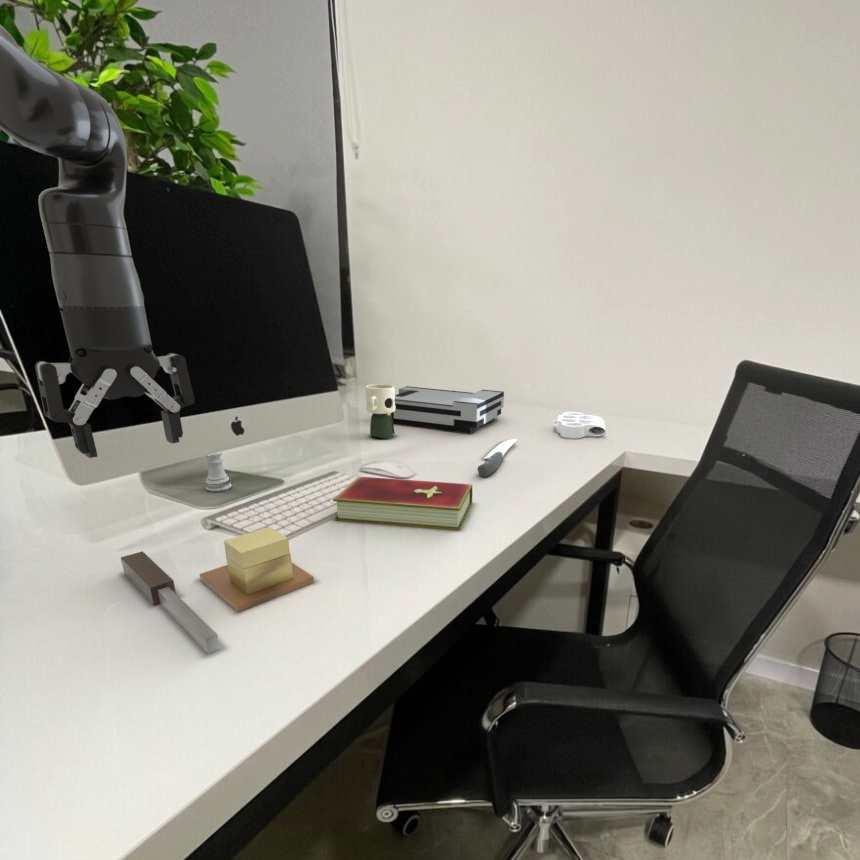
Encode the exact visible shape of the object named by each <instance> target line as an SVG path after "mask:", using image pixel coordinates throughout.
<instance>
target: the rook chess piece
mask: <svg viewBox="0 0 860 860" xmlns="http://www.w3.org/2000/svg"><path fill="white" fill-rule="evenodd" d="M223 454H224V451H223V452H220V453H214V454H211V455H209V456H205V457H206V462H205V463H207V470H208V471H207V476H206V479H205V482H206V483H208V484H220V483H223V482H226V481H228V480H229V478H230V477H229V476H228V474H227V473H226V471H225V468H224V465H223V461H224V459H223V458H222V455H223ZM232 486H233V484H232V483H231V482H230V483H229V484H227V485H224V486H219V487H210V486H207V485H206V486H205V490H206V491H207V492H210V493H222V492H226V491H228V490H230V489H231V488H232Z"/></svg>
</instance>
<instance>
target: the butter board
mask: <svg viewBox="0 0 860 860" xmlns="http://www.w3.org/2000/svg"><path fill="white" fill-rule="evenodd" d="M291 556H292V555H291V553H290V554H287V555H284V556H281V557H278V558H275V559H272V560H269V561H266V562H263V563H260V564H257V565H254V566H252V567H249V568H246V569H243V568H241V567H240V566H239V565H237V564H236V563H235V562H233V561H232V560H231V559H229V558H228V557H227V556H226V555H225V557H226V565H223V566H220V567H217V568H214V569H210V570H208V571H207V570H206V571H204V572H201V573H199V579H200V581H201V582H202V583H203V584H204V585H206V586H207V588H209V589H210V590H211V591H212V592H213V593H215V594H216V595H217V596H218V597H219V598H220V599H221V600H222V601H224V602H225V603H226V604H227V605H228V606H229V607H231V608H232V609H233V610H234V611H236V613H242V612H244V611H247V610H249V609H252V608H254V607H257V606H260V605H262V604H264V603H267V602H269V601H272V600H274V599H277V598H279V597H282V596H284V595H287V594H289V593H292V592H296V591H298V590H300V589H302V588H304V587H307V586H310V585H313V584H315V580H314V579H315V578H314V576H313V575H311V574H310V573H308V571H307V572H306V571H305V570H304V569H303V568H301V567H299V566H297V565H296V564H295V563H293V562H292V557H291Z"/></svg>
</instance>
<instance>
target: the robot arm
mask: <svg viewBox="0 0 860 860" xmlns="http://www.w3.org/2000/svg"><path fill="white" fill-rule="evenodd" d="M0 130H2V131H3V132H5V134H6V135H8V136H9V137H10V138H12V139H14V140H15V141H17V142H18V143H20V144H21V145H23V146H25V147H26V148H29V149H31V150H32V151H34V152H36V153H39V154H42V155H45V156H49V157H52V158H56V159H58V186H55V187H50V188H46V189H44V190H42V191H41V192H40V194H39V195H38V210H39V216H40V220H41V223H42V228H43V232H44V237H45V240H46V245H47V250H48V253H49V258H50V267H51V268H50V269H51V278H52V282H53V288H54V292H55V296H56V300H57V303H58V307H59V312H60V316H61V320H62V323H63V328H64V333H65V336H66V340H67V344H68V349H69V353H70V355H69V360H68V361H67V362H47V361H44V360H40V361H37V362H36V363H35V365H34V369H35V373H36V380H37V385H38V389H39V394H40V399H41V404H42V410H43V414H44V416H45V417H47V418H48V419H50V420H51V421H52V422H55V423H65V424H68V425H69V426H70V430H71V435H72V438H73V442H74V446H75V448H76V450H77V451H78V452H79V453H81V454H82V455H84V456H85V457H87V458H89V459H93V458H98V452H97V451H98V450H97V447H96V443H95V439H94V434H93V430H92V427H91V424H89V423H87V421H88V420H89V419H90V416H91V415H92V413H93V411H94V410H95V409H96V408H98V406H99V405H100V404H101V402H102V400H103V399H105V400H106V399H107V400H109V401H111V400H119V399H121V398H125V397H130V398H138V397H142V395H144V394H145V395H146V396H148V397H149V398H150V399H152V400H153V401H154V402H155V403H156V404H157V405H158V406H160V407H161V408H162V410H160V414H161V420H162V425H163V430H164V436H165V439H166V442H168V443H170V444H178V443H180V438H182V437H183V435H184V431H183V425H182V419H181V414H180V413H181V410H182V409H183V408H185V407H187V406H192V405H194V404H195V395H194V392H193V387H192V384H191V378H190V374H189V370H188V365H187V361H186V358H185V356H183V355H182V354H178V353H175V352H169V353H167V354H166V355H161V356H160V355H159V356H156V354H155V353H154V350H153V346H152V345H153V344H152V338H151V334H150V329H149V324H148V319H147V312H146V307H145V302H144V301H145V296H144V293H143V291H142V286H141V281H140V278H139V274H138V272H137V269H136V266H135V263H134V258H133V256H132V255H133V254H132V250H131V244H130V239H129V234H128V230H127V225H126V220H125V212H124V211H125V202H126V195H127V194H126V193H127V192H126V191H127V171H128V170H127V169H128V153H127V144H126V138H125V134H124V130H123V129H122V125H121V123H120V120H119V118H118V116H117V114H116V112H115V110H114V109H113V107H112V106H111V105H110V104H109V102H108V101H107V100H106V99H105V98H104V97H103V96H101V94H99V93H98V92H96V91H95V90H93V89H91V88H90V87H88V86H85V85H83V84H81V83H79V82H77V81H74V80H73V79H71V78H69V77H66V76H64V75H62V74H60V73H58V72H56V71H54V70H51V69H50V68H48V67H47V66H45V65H44V64H42V63H40V62H39V61H38V60H37V59H34V58H33V57H32V56H30V55H29V54H28V53H26V52H25V51H23V50H22V49H21V48H20V46H19V45H18V43H17V41H16V39H15V38H14V37H13V36H12V35H11V33H9V31H8V30H7V29H6V28H5V27H4V26H2V24H0ZM160 367H162V369H163V370H164V372H165V373H166V374H169V376H170V381H171V384H172V388H173V392H174V396H172V397H171V396H170V395H169V394H168V392H167V391H166V390H165V389H164V388H162V387H161V386H160V385H159V384H158V383H157V382H156V381H155V380H154V379H155V377H156V375H157V373H158V371H159V370H160ZM68 374H71V375H73V377H75V378H76V379H77V380H78V381H80V383H82V384H81V386H80V387H79V389H78V391H77V392H76V394H75V396H74V400H73V402H72V404H71V406H70V407H69V408H68V409H64V404H63V398H62V393H61V389H60V388H61V387H60V385H62V384H64V383H65V382H66V380H67V375H68Z"/></svg>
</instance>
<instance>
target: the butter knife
mask: <svg viewBox="0 0 860 860" xmlns="http://www.w3.org/2000/svg"><path fill="white" fill-rule="evenodd" d="M120 562H121V565H122V569H123V573H124V575H125V576H126V578H127V579H128V580H129V581H130V582H131V583H132V584H133V585H134V587H136V588H137V590H139V591H140V593H141V594H142V596H144V597H145V598H146V599H147V600H148V601H149V603H151V605H153V606H154V607H155V606H158V605H161V606H162V607H163V608H164V609H165V610H166V612H168V614H170V616H172V618H173V619H174V620H175V621H176V622H177V623H178V624H179V625H180V626H181V627H182V628H183V630H184V631H186V632H187V633H188V634H189V636H190V637H191V638H192V639H193V640H194V641H195V642H196V643H197V645H199V646H200V647H201V648H202V649H203V650H204V651H205V653H207V654H208V655H211V654H212V653H215V652H217V651H220V650H221V647H220V643H219V642H220V641H219V637H218V634H217V633H216V631H214V630H213V629H212V628H211V626H210V625H208V623H206V622H205V621H204V620H203V618H201V616H199V615H198V614H197V613H196V612H195V611H194V609H192V608H191V607H190V606H189V605H187V603H186V602H185V601H184V600H183V599H182V598H181V597H180V596H179V595H178V594H177V592H176V586H175V581H174V579H173V578H172V577H170V575H169V574H168V573H166V572H165V571H164V570H163V569H162V568H161V567H160V566H159V565H158V564H156V563H155V561H154V560H153V559H151V557H149V556H148V555H147V553H145V552H144V551H143V550H141V551H138V552H135V553H131V554H127V555H124V556H121V557H120Z"/></svg>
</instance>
